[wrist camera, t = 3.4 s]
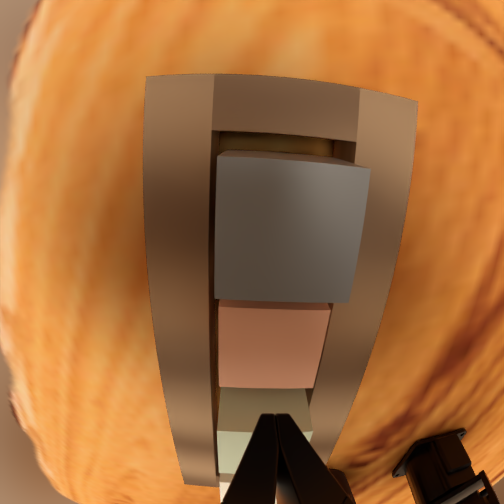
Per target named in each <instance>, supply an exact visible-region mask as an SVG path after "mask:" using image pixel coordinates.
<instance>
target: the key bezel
mask: <svg viewBox="0 0 504 504" xmlns="http://www.w3.org/2000/svg"><path fill="white" fill-rule="evenodd" d="M417 111H418V101H415V100H411V99H407V98H403V97H399V96H395V95H391V94H387V93H382V92H378V91H373V90H368V89H363V88H358V87H352V86H347V85H341V84H335V83H328V82H321V81H314V80H306V79H297V78H287V77H276V76H262V75H243V74H179V75H160V76H147V77H146V87H145V105H144V130H143V199H144V225H145V243H146V258H147V271H148V282H149V292H150V302H151V311H152V319H153V327H154V335H155V342H156V349H157V356H158V362H159V368H160V374H161V380H162V386H163V391H164V397H165V402H166V407H167V412H168V417H169V422H170V427H171V431H172V436H173V440H174V444H175V449H176V453H177V457H178V461H179V465H180V469H181V473H182V476H183V480H184V484H189V485H198V486H209V487H220V483H219V481H220V473H219V465H218V444H217V394H216V334H215V299H214V271H215V210H216V176H217V156H218V154H219V132H220V131H226V132H250V133H267V134H281V135H293V136H304V137H313V138H322V139H331V140H334V151H333V157H334V158H337V159H341V160H344V161H347V162H351V163H354V164H357V165H360V166H363V167H366V168H369V169H371V172H370V180H369V188H368V196H367V203H366V210H365V217H364V224H363V230H362V236H361V242H360V248H359V254H358V259H357V264H356V270H355V275H354V280H353V285H352V290H351V294H350V299H349V303H328V305H329V308H330V310H331V311H330V316H329V321H328V326H327V330H326V335H325V340H324V344H323V349H322V353H321V357H320V361H319V366H318V370H317V374H316V378H315V382H314V386H313V388H305V391H306V397H307V402H308V407H309V412H310V417H311V422H312V428H313V433H312V436H311V439H310V442H309V443H310V444H311V445H312V447H313V448H314V450H315V451H316V452H317V454H318V455H319V457H320V458H321V459H322V461H323V462H324V464H325V465H326V463H327V461H328V459H329V457H330V455H331V453H332V451H333V449H334V446H335V444H336V442H337V440H338V438H339V435H340V433H341V431H342V429H343V426H344V424H345V421H346V419H347V417H348V414H349V412H350V409H351V407H352V404H353V402H354V399H355V397H356V394H357V391H358V389H359V386H360V383H361V381H362V378H363V375H364V372H365V370H366V367H367V364H368V361H369V358H370V355H371V352H372V349H373V346H374V343H375V339H376V336H377V333H378V330H379V326H380V323H381V319H382V316H383V312H384V309H385V305H386V302H387V298H388V294H389V290H390V286H391V282H392V278H393V274H394V270H395V265H396V261H397V256H398V252H399V247H400V242H401V237H402V232H403V227H404V221H405V216H406V210H407V204H408V197H409V191H410V184H411V176H412V168H413V160H414V150H415V139H416V127H417Z"/></svg>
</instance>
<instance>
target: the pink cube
mask: <svg viewBox="0 0 504 504" xmlns="http://www.w3.org/2000/svg"><path fill="white" fill-rule="evenodd" d="M330 311H331V310H330V308H329V305H328V303H309V302H273V301H248V300H227V299H220V301H219V387H236V388H274V389H290V388H313V386H314V382H315V378H316V374H317V370H318V366H319V361H320V357H321V353H322V349H323V344H324V340H325V335H326V330H327V326H328V321H329V316H330Z"/></svg>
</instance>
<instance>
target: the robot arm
mask: <svg viewBox="0 0 504 504" xmlns="http://www.w3.org/2000/svg"><path fill="white" fill-rule="evenodd" d="M465 434H466V430H465V429H461V430H458V431H454V432H451V433H448V434H444V435H440V436H437V437H433V438H429V439H425V440H421V441H418V442H416V443H415V444H414V445H413V446H412V448H411V449H410V450H409V452H408V453H407V454H406V456H405V457H404V459H403V460H402V461H401V463H400V464H399V465H398V466H397V468H396V469H395V470H394V472H393V473H392V476H393V478H395V477H400V476H404V475H406V478H407V480H408V483H409V486H410V489H411V492H412V495H413V497H414V500H415V503H416V504H500V502H499V500H498V498H497V495H496V493H495V491H494V489H493V487H492V484H491V482H490V480H489V478H488V477H487V475H486V473H485V472H484V470H482V471H481V472H480V473H479V474H478V475H477V476H476V475H475V473H474V471H473V469H472V467H471V460H470V458H469V456H468V454H467V452H466V450H465V449H464V447H463V445H462V443H461V439H462V438H463V437H464V435H465ZM483 486H485V489H484V490H482V491H481V492H479V491H478V490H479V489H480V488H482V487H483ZM275 498H276V500H277V504H355V503H354V502H353V501H352V500H351V498H350V497H349V496H347V493H346V492H345V491H344V489H343V488H342V487H341V485H340V484H339V483H338V481H337V480H336V479H335V477H334V476H333V474H332V473H331V472H330V470H329V469H328V468H327V466H326V465H325V464H324V462H323V461H322V459H321V458H320V457H319V455H318V454H317V452H316V451H315V450H314V448H313V447H312V445H311V444H310V443H309V441H308V440H307V438H306V437H305V435H304V434H303V433H302V431H301V430H300V428H299V427H298V425H297V424H296V422H295V421H294V420H293V418H292V417H291V415H290V414H288V413H276V414H273V413H262V414H261V415H260V417H259V419H258V421H257V424H256V426H255V429H254V431H253V433H252V436H251V438H250V440H249V443H248V445H247V447H246V450H245V452H244V454H243V456H242V459H241V461H240V463H239V465H238V468H237V470H236V472H235V474H234V476H233V479H232V481H231V483H230V485H229V487H228V489H227V492H226V494H225V496H224V498H223V500H222V501H223V502H221V504H275Z"/></svg>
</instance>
